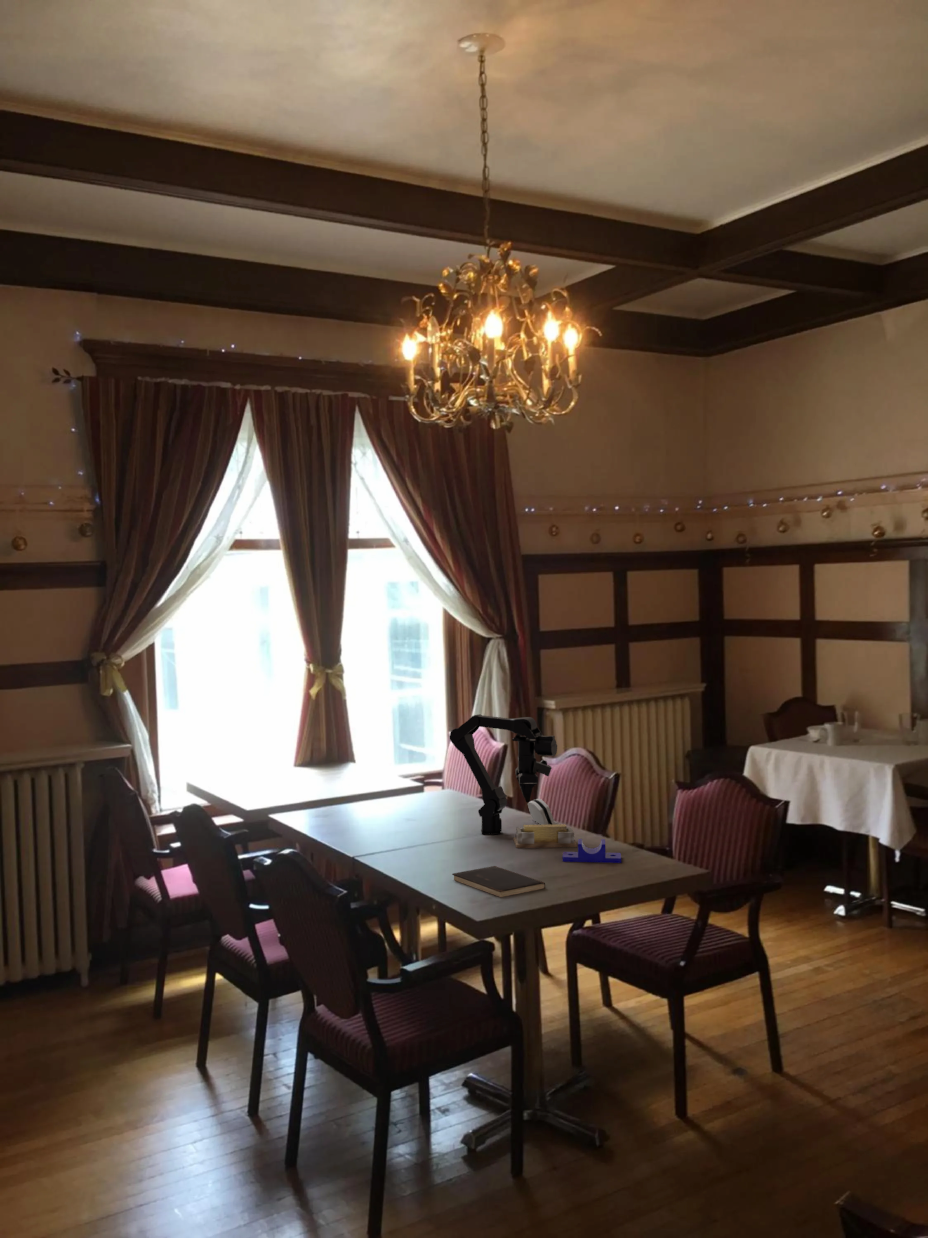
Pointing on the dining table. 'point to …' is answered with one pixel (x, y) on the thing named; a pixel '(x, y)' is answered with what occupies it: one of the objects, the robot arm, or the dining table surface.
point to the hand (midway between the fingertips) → (526, 799)
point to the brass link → (545, 832)
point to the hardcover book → (498, 881)
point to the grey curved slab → (541, 812)
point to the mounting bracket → (591, 854)
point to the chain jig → (528, 842)
